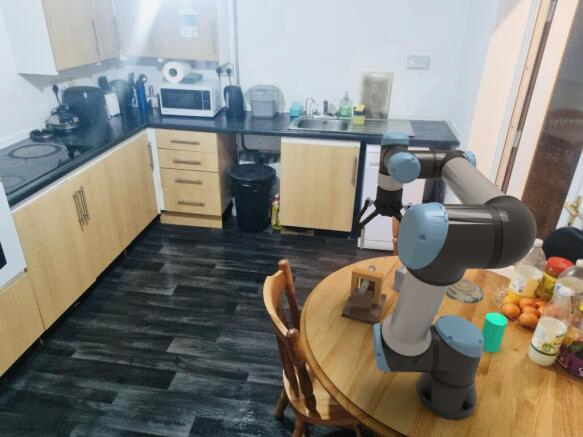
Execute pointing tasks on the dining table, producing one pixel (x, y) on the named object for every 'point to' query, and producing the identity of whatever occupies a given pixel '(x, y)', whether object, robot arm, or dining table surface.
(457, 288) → the decorative bowl
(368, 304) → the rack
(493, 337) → the candle
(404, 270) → the medicine box
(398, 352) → the robot arm
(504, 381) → the dining table surface
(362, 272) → the orange open frame
